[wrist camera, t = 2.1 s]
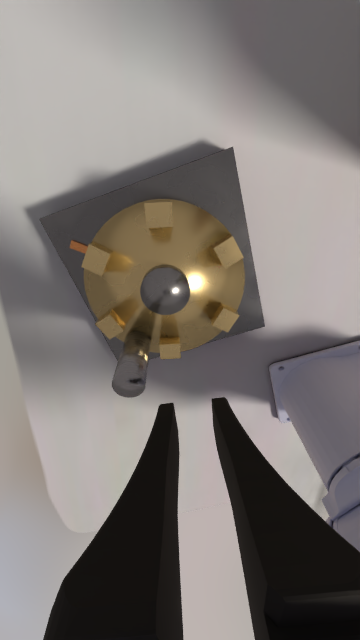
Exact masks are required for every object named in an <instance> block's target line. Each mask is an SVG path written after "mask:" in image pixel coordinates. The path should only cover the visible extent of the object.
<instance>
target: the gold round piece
mask: <svg viewBox="0 0 360 640" xmlns="http://www.w3.org/2000/svg"><path fill="white" fill-rule="evenodd" d="M243 258H244V257H243V255H242V253H241V251H240V249H239V247H238V245H237V243H236V241H235V240H234V238H233V236H232V235H231V233H230V232H229V231H228V230H227V229H226V227H225V226H224V225H223V224H222V223H221V222H220V221H219V220H217V219H216V218H215V217H214V216H212V215H211V214H209V213H208V212H206V211H205V210H203V209H202V208H199V207H197V206H195V205H193V204H191V203H188V202H184V201H181V200H175V199H152V200H147V201H143V202H139V203H137V204H134V205H132V206H130V207H128V208H125V209H123V210H122V211H120V212H119V213H117V214H115V215H114V216H113V217H112V218H110V219H109V220H108V221H107V222H106V223H105V224H104V225H103V226H102V227H101V229H100V230H99V231H98V232H97V234H96V235H95V237H94V239H93V240H92V242H91V243H90V244H89V245H88V248H87V251H86V254H85V257H84V260H83V263H82V266H81V267H83V268H84V286H85V291H86V295H87V298H88V302H89V304H90V306H91V308H92V310H93V312H94V314H95V315H96V317H97V318H98V320H97V321H96V323H95V325H96V326H97V327H98V328H99V329H100V330H101V331H102V332H103V333H104V334H105V335H106V336H107V337H108V338H109V340H110V339H111V338H113V337H117V338H118V339H119V340H121V341H123V342H124V344H123V347H122V351H121V354H120V357H119V361H118V364H117V367H116V371H115V374H114V377H113V381H112V387H113V390H114V391H115V392H116V393H117V394H119V395H121V396H123V397H136V396H138V395H140V394H141V393H142V392H143V391H144V389H145V383H146V375H147V367H148V359H149V352H155V353H160V359H174V358H181V354H180V352H182V351H187V350H190V349H193V348H196V347H198V346H201V345H203V344H205V343H206V342H208V341H210V340H211V339H213V338H214V337H215V336H217V335H218V334H219V333H220V332H221V331H222V330H223V331H225V332H229V330H230V329H231V327H232V326H233V324H234V323H235V321H236V320H237V319H238V317H239V316H240V315H239V314H238V312H237V310H238V307H239V305H240V303H241V299H242V296H243V292H244V285H245V270H244V263H243Z"/></svg>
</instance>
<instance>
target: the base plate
mask: <svg viewBox="0 0 360 640" xmlns="http://www.w3.org/2000/svg"><path fill="white" fill-rule="evenodd" d="M152 199H175V200H181V201H184V202H188V203H191V204H193V205H195V206H197V207H199V208H202V209H203V210H205V211H206V212H208V213H209V214H211V215H212V216H214V217H215V218H216V219H217V220H219V221H220V222H221V223H222V224H223V225H224V226H225V227H226V229H227V230H228V231H229V232H230V233H231V235H232V236H233V238H234V240H235V241H236V243H237V245H238V247H239V249H240V251H241V253H242V255H243V257H244V258H243V263H244V270H245V285H244V292H243V296H242V299H241V303H240V305H239V307H238V310H237V312H238V314H239V315H240V316H239V317H238V319H237V320H236V321H235V323H234V324H233V326H232V327H231V329H230V330H229V332H225V331H223V330H222V331H221V332H220V333H219V334H218V335H217V336H215V337H214V338H213V339H211V340H210V341H208V342H206V343H209V342H212V341H216V340H219V339H223V338H226V337H230V336H233V335H237V334H240V333H244V332H247V331H251V330H254V329H258V328H261V327H265V324H264V319H263V313H262V307H261V302H260V296H259V291H258V285H257V279H256V274H255V268H254V262H253V257H252V251H251V246H250V240H249V234H248V229H247V223H246V217H245V212H244V206H243V201H242V195H241V189H240V184H239V178H238V172H237V167H236V161H235V156H234V150H233V147H231V148H228V149H226V150H223V151H220V152H218V153H215V154H212V155H209V156H207V157H204V158H201V159H199V160H196V161H193V162H191V163H188V164H185V165H183V166H180V167H177V168H175V169H172V170H169V171H167V172H164V173H161V174H159V175H156V176H153V177H151V178H148V179H145V180H142V181H140V182H137V183H134V184H132V185H129V186H126V187H124V188H121V189H118V190H116V191H113V192H110V193H108V194H105V195H102V196H100V197H97V198H94V199H92V200H89V201H86V202H83V203H81V204H78V205H75V206H73V207H70V208H67V209H65V210H62V211H59V212H57V213H54V214H51V215H49V216H46V217H43V218H41V219H40V221H41V223H42V225H43V227H44V228H45V230H46V232H47V234H48V236H49V238H50V239H51V241H52V243H53V245H54V247H55V248H56V250H57V252H58V254H59V256H60V257H61V259H62V261H63V263H64V265H65V266H66V268H67V270H68V272H69V274H70V276H71V277H72V279H73V281H74V283H75V285H76V286H77V288H78V290H79V292H80V294H81V295H82V297H83V299H84V301H85V303H86V304H87V306H88V308H89V310H90V312H91V313H92V315H93V317H94V319H95V321H97V320H98V318H97V317H96V315H95V314H94V312H93V310H92V308H91V306H90V304H89V302H88V298H87V295H86V291H85V286H84V268H83V267H81V266H82V263H83V260H84V257H85V254H86V251H87V248H88V245H89V244H90V243H91V242H92V240H93V239H94V237H95V235H96V234H97V232H98V231H99V230H100V229H101V227H102V226H103V225H104V224H105V223H106V222H107V221H108V220H109V219H110V218H112V217H113V216H114V215H115V214H117V213H119V212H120V211H122V210H123V209H125V208H128V207H130V206H132V205H134V204H137V203H139V202H143V201H147V200H152ZM101 332H102V331H101ZM102 333H103V332H102ZM103 335H104V337H105V339H106V341H107V342H108V344H109V346H110V348H111V350H112V351H113V353H114V355H115V357H116V359H117V361H119V357H120V354H121V351H122V347H123V344H124V342H123V341H121V340H119V339H118V338H117V337H113V338H111V339H110V340H109V338H108V337H107V336H106V335H105V334H104V333H103ZM159 356H160V353H155V352H149V359H152V358H156V357H159ZM149 359H148V360H149Z"/></svg>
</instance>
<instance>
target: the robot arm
mask: <svg viewBox="0 0 360 640" xmlns="http://www.w3.org/2000/svg"><path fill="white" fill-rule="evenodd" d="M359 346H360V340H359V341H356V342H352V343H348V344H344V345H341V346H337V347H333V348H330V349H326V350H322V351H318V352H315V353H311V354H307V355H303V356H300V357H296V358H292V359H288V360H285V361H281V362H277V363H273V364H271V365H270V367H269V372H270V377H271V383H272V388H273V393H274V399H275V404H276V409H277V415H278V419H279V421H280V422H281V423H287V422H292V424H293V426H294V428H295V430H296V432H297V434H298V435H299V437H300V439H301V441H302V443H303V445H304V447H305V449H306V451H307V453H308V455H309V456H310V458H311V460H312V462H313V464H314V466H315V468H316V470H317V472H318V474H319V476H320V477H321V479H322V481H323V483H324V485H325V487H326V489H327V491H328V494H327V495H326V496H325V497H323V498H322V502H323V504H324V506H325V508H326V510H327V512H328V514H329V516H330V517H329V518H327V520H326V522H325V521H324V520H323V519H322V518H321V517H320V516H319V515H318V514H317V513H316V512H315V511H314V510H313V509H312V508H311V507H310V506H309V505H308V504H307V503H306V502H305V501H304V500H303V499H302V498H301V497H300V496H299V495H298V494H297V493H296V492H295V491H294V490H293V489H292V488H291V487H290V486H289V485H288V484H287V483H286V482H285V481H284V480H283V479H282V477H281V476H280V475H279V474H278V473H277V472H276V471H275V469H274V468H273V467H272V466H271V465H270V464H269V462H268V461H267V460H266V459H265V457H264V456H263V455H262V454H261V452H260V451H259V450H258V448H257V447H256V446H255V444H254V443H253V442H252V440H251V439H250V438H249V436H248V435H247V433H246V432H245V430H244V429H243V427H242V426H241V424H240V423H239V421H238V419H237V418H236V416H235V414H234V413H233V411H232V409H231V407H230V405H229V403H228V401H227V399H226V398H224V397H223V398H214V399H212V412H213V427H214V433H215V440H216V446H217V451H218V455H219V459H220V462H221V466H222V470H223V474H224V478H225V482H226V486H227V489H228V493H229V497H230V501H231V505H232V510H233V515H234V520H235V526H236V531H237V536H238V543H239V549H240V553H241V560H242V565H243V571H244V577H245V583H246V589H247V595H248V600H249V606H250V613H251V619H252V624H253V630H254V636H255V640H360V347H359ZM281 366H282V367H281ZM279 367H281V368H279ZM178 478H179V438H178V428H177V422H176V416H175V410H174V404H173V403H167V404H161V405H160V406H159V408H158V412H157V416H156V419H155V422H154V425H153V428H152V431H151V434H150V436H149V439H148V441H147V444H146V446H145V449H144V451H143V453H142V456H141V458H140V460H139V462H138V464H137V466H136V469H135V471H134V473H133V475H132V476H131V478H130V480H129V482H128V484H127V486H126V488H125V489H124V491H123V493H122V495H121V496H120V498H119V500H118V502H117V503H116V505H115V507H114V508H113V510H112V511H111V513H110V515H109V516H108V518H107V519H106V521H105V522H104V524H103V525H102V527H101V528H100V530H99V531H98V533H97V534H96V536H95V537H94V539H93V540H92V542H91V543H90V544H89V546H88V547H87V549H86V550H85V551H84V553H83V554H82V556H81V557H80V558H79V559H78V561H77V562H76V563H75V565H74V566H73V568H72V569H71V570H70V571H69V573H68V574H67V575H66V577H65V578H64V580H63V582H62V584H61V586H60V589H59V592H58V594H57V597H56V599H55V602H54V605H53V607H52V610H51V614H50V617H49V621H48V624H47V628H46V631H45V635H44V639H43V640H183V623H182V605H181V585H180V564H179V542H178V517H177V514H178Z"/></svg>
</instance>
